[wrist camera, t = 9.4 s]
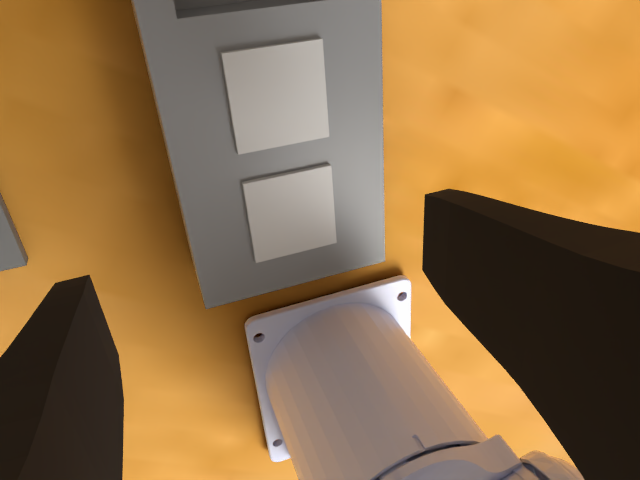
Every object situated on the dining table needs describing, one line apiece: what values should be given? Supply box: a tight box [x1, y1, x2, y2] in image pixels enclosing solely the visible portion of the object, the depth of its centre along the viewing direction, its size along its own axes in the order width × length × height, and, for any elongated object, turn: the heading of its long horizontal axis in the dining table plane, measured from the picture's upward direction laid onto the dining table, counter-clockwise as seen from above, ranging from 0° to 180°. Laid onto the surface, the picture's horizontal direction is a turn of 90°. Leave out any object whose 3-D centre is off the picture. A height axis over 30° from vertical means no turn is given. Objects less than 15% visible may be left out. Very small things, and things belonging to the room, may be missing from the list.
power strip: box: [131, 0, 385, 309], centre depth 16 cm, size 18×7×3 cm, turn 4°
